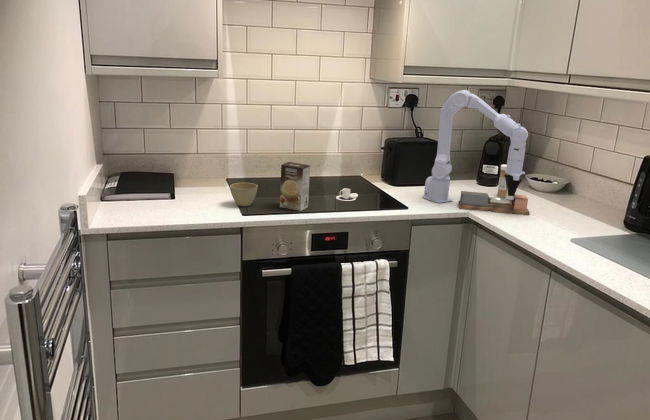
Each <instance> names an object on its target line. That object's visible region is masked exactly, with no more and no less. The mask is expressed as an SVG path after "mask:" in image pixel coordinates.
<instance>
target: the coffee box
mask: <svg viewBox="0 0 650 420" xmlns="http://www.w3.org/2000/svg"><path fill="white" fill-rule="evenodd" d="M310 169H311V165H310V164H306V163H301V162H300V163H299V162H294V161H293V162H292V161H287V162H285V163H282V164H281V165H280V187H279V188H280V190H279V191H280V192H279V208H284V209H289V210H293V211H299V212H300V211H303V210H305V209H307V208H309V196H310V195H309V193H310V173H311V171H310Z"/></svg>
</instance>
